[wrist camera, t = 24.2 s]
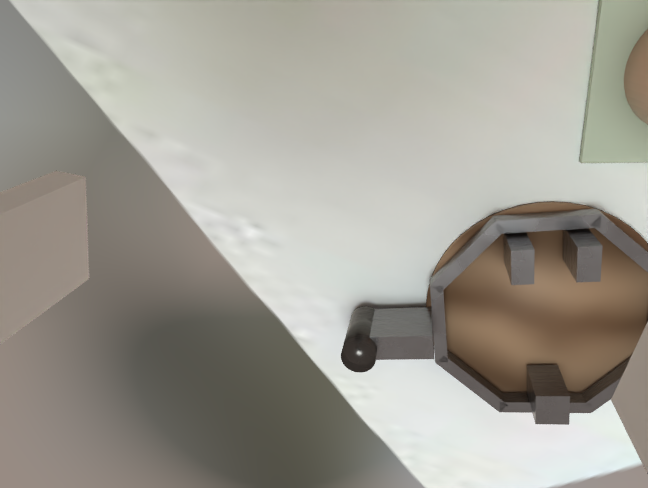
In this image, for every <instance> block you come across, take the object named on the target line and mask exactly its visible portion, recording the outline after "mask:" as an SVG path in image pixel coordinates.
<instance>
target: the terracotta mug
mask: <svg viewBox="0 0 648 488" xmlns="http://www.w3.org/2000/svg"><path fill="white" fill-rule="evenodd" d="M624 90H625V96H626V98H627V101H628V104H629V106H630V107H631V109H632V111H633V112H634V113H635V115H636V116H637V117H638V118H639V119H640V120H641V121H643V122H644V123H646V124H647V125H648V29H647V30H646V31H645V32H644V33H643V35H642V36H641V37H640V38H639V40H638V41H637V43H636V44H635V46H634V47H633V49H632V51H631V53H630V55H629V58H628V61H627V64H626V68H625V73H624Z"/></svg>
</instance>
